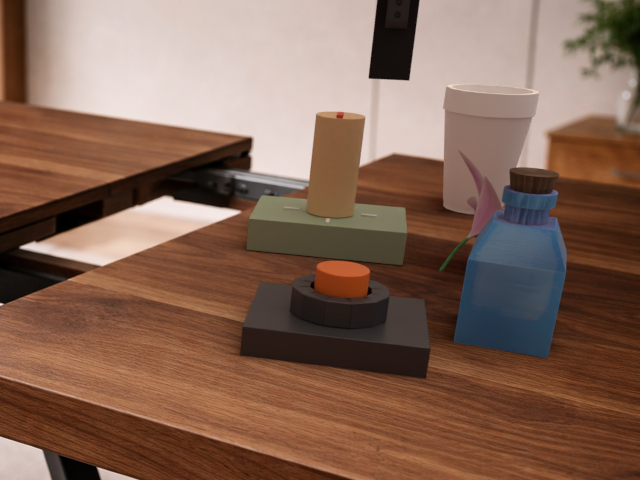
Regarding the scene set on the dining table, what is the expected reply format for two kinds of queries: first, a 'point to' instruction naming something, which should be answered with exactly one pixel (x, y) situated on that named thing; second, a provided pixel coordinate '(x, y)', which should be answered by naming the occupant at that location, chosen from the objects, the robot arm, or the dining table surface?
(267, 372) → the dining table surface
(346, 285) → the button
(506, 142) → the foam cup
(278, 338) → the button block
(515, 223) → the perfume bottle
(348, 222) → the panel
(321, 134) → the handle
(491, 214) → the lily
